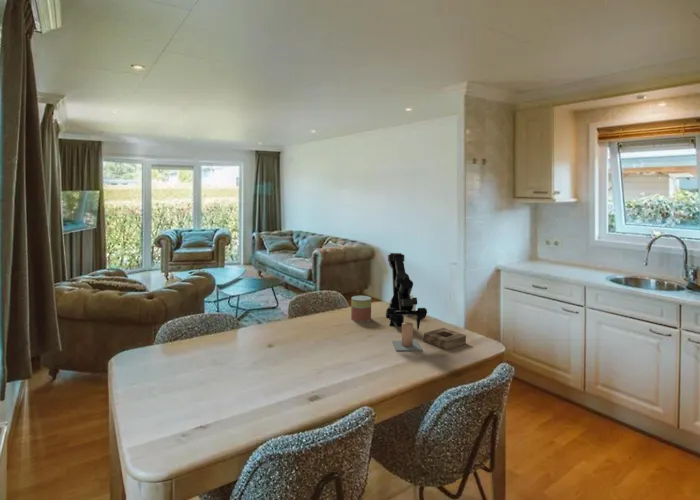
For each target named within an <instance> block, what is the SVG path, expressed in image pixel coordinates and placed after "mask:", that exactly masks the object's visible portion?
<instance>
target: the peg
mask: <svg viewBox="0 0 700 500" xmlns="http://www.w3.org/2000/svg"><path fill="white" fill-rule="evenodd" d="M413 333H414V323H412V322H404V323H402V326H401V341H402V346H405V347H411V346H413V340H414V339H413V338H414V337H413V336H414V334H413Z"/></svg>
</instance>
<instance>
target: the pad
mask: <svg viewBox="0 0 700 500" xmlns="http://www.w3.org/2000/svg"><path fill="white" fill-rule="evenodd" d="M391 342H392V344H393V346H394V348H395V351H396V352H423V351H424V349H423V348H422V346H421V344H420V342H419V341H418V340H415V339H413V346H411V347H405V346H402V340H392V341H391Z"/></svg>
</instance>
